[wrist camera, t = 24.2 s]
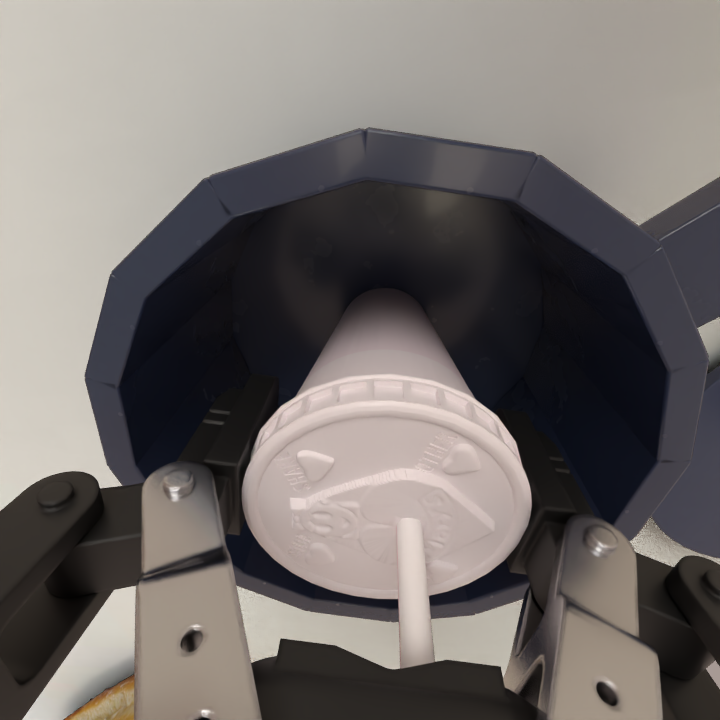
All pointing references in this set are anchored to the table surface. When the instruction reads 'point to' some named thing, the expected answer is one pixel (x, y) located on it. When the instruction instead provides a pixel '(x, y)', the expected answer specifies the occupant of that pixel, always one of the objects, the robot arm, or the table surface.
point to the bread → (109, 704)
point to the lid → (698, 484)
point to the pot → (440, 303)
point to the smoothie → (387, 470)
